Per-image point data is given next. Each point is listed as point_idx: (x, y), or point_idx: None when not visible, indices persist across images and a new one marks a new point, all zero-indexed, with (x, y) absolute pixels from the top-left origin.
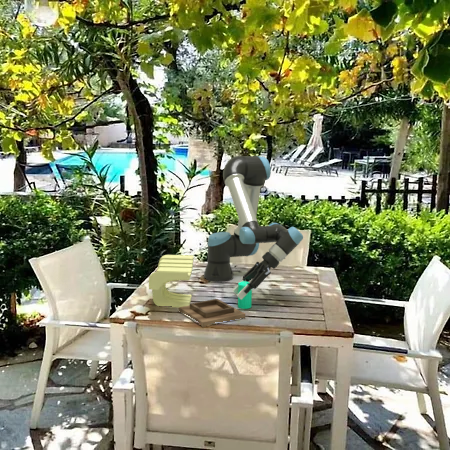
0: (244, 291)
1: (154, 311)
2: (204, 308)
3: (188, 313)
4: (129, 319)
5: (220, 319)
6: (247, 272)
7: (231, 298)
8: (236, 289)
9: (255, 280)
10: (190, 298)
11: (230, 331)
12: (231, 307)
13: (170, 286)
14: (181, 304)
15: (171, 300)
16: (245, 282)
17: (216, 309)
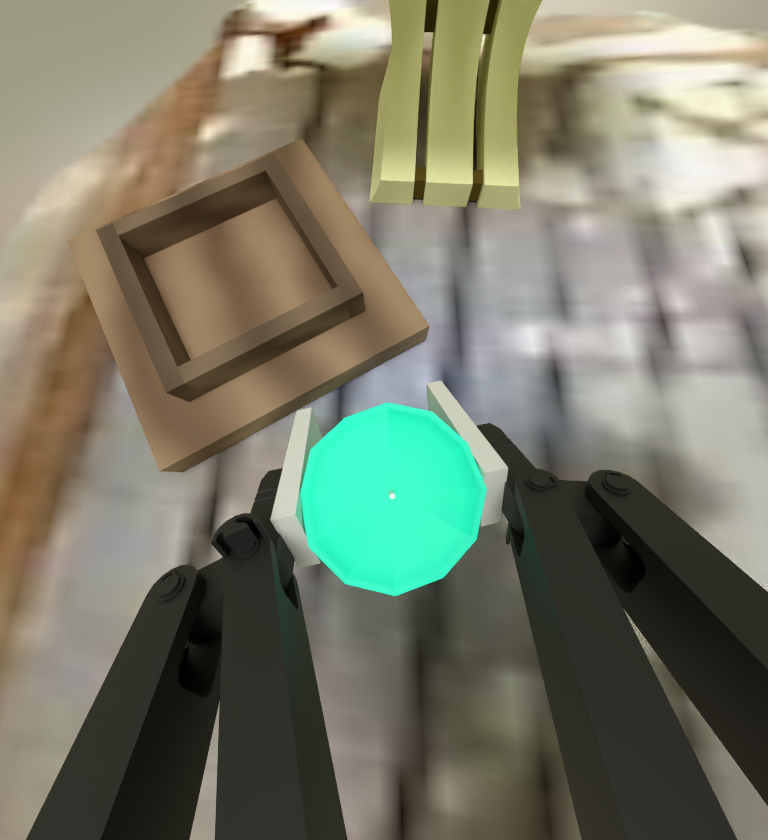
0: (270, 472)
1: (318, 84)
2: (275, 246)
3: (209, 179)
4: (233, 22)
5: (104, 324)
6: (726, 577)
7: (539, 413)
8: (436, 410)
9: (116, 710)
10: (451, 184)
11: (12, 380)
12: (176, 374)
13: (692, 116)
14: (379, 159)
15: (392, 99)
16: (464, 502)
17: (253, 305)
